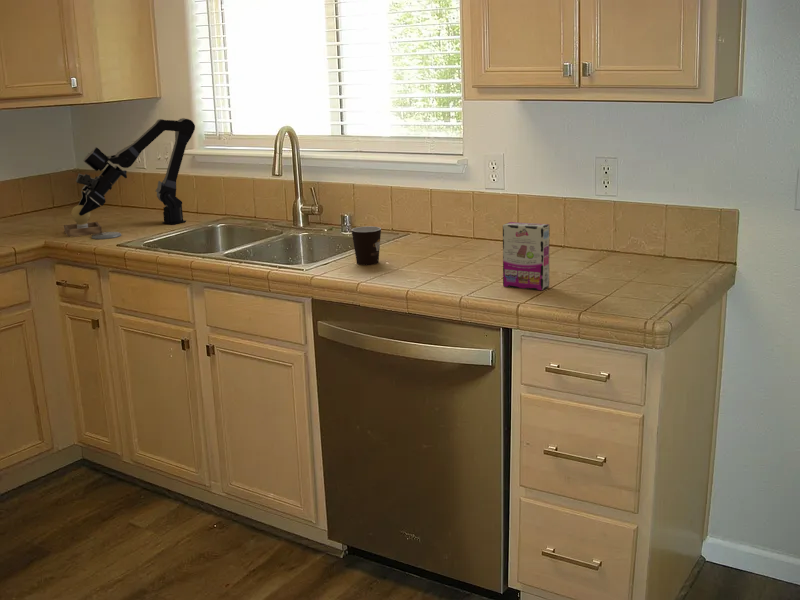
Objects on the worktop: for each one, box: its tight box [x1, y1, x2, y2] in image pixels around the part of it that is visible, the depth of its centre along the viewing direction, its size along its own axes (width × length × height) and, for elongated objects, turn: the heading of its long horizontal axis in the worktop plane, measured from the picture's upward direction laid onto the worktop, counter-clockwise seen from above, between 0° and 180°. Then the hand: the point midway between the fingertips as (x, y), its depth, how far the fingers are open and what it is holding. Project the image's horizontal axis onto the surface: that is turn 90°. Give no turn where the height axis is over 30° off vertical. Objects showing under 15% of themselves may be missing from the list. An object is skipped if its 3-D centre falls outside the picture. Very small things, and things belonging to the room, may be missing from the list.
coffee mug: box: [351, 225, 382, 266], centre depth 265 cm, size 12×9×10 cm
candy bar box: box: [502, 221, 551, 291], centre depth 231 cm, size 11×5×16 cm, turn 59°
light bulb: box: [70, 205, 91, 229], centre depth 326 cm, size 6×6×10 cm
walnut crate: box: [63, 221, 103, 237], centre depth 327 cm, size 12×12×2 cm
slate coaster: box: [91, 231, 122, 240], centre depth 319 cm, size 10×10×1 cm
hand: (78, 213), depth 325 cm, fingers open, 9 cm apart
